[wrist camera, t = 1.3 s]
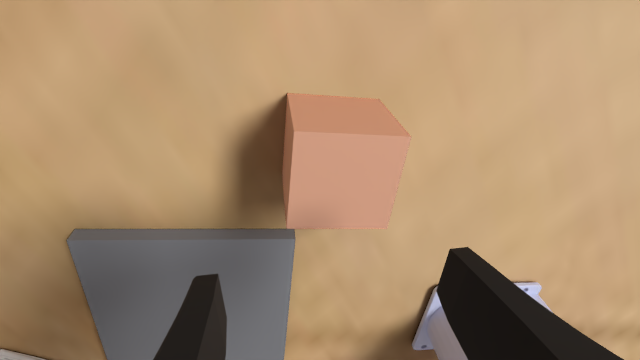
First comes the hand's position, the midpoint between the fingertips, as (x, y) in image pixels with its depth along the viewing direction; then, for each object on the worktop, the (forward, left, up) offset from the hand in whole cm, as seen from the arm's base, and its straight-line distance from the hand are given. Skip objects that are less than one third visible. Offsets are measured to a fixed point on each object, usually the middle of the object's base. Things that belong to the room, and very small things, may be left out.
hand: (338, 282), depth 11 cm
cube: (-1, 0, -11) cm, 11 cm away
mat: (+7, +13, -10) cm, 18 cm away
